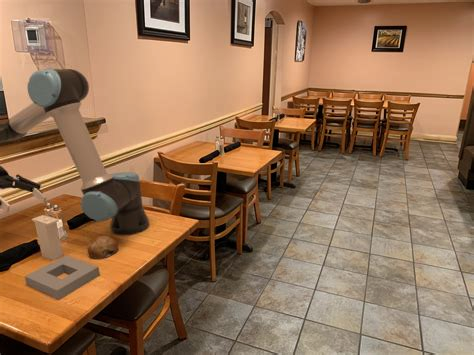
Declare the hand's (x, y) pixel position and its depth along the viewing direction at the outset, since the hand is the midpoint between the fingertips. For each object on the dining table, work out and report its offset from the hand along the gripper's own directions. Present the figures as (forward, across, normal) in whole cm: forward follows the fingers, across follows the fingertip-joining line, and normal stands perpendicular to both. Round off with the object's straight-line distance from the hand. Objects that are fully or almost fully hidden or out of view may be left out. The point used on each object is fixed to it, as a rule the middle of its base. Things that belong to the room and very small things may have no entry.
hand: (27, 204), depth 127 cm
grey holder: (+34, +10, -2) cm, 35 cm away
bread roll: (+31, -8, -2) cm, 32 cm away
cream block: (+18, +1, -9) cm, 21 cm away
